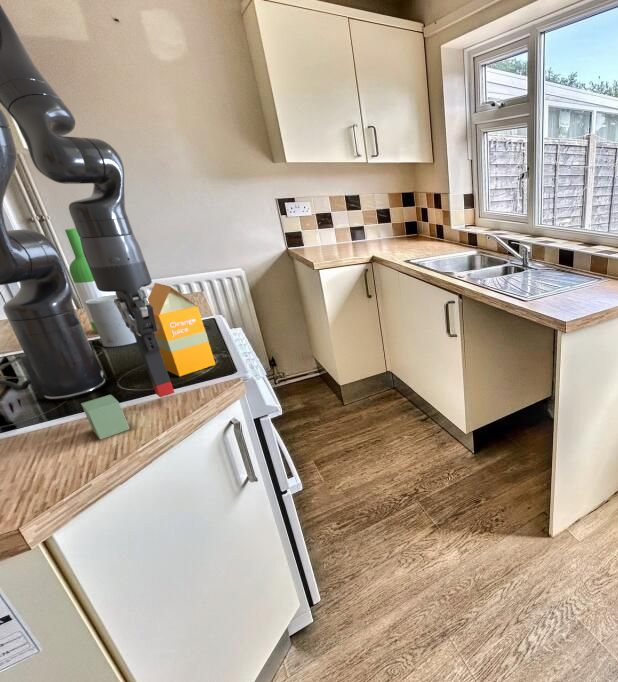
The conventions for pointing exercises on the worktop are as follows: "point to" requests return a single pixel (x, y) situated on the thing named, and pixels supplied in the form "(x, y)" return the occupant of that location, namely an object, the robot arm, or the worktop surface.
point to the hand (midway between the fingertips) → (150, 351)
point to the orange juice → (179, 331)
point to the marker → (156, 370)
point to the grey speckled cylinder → (109, 322)
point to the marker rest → (105, 416)
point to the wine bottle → (83, 275)
